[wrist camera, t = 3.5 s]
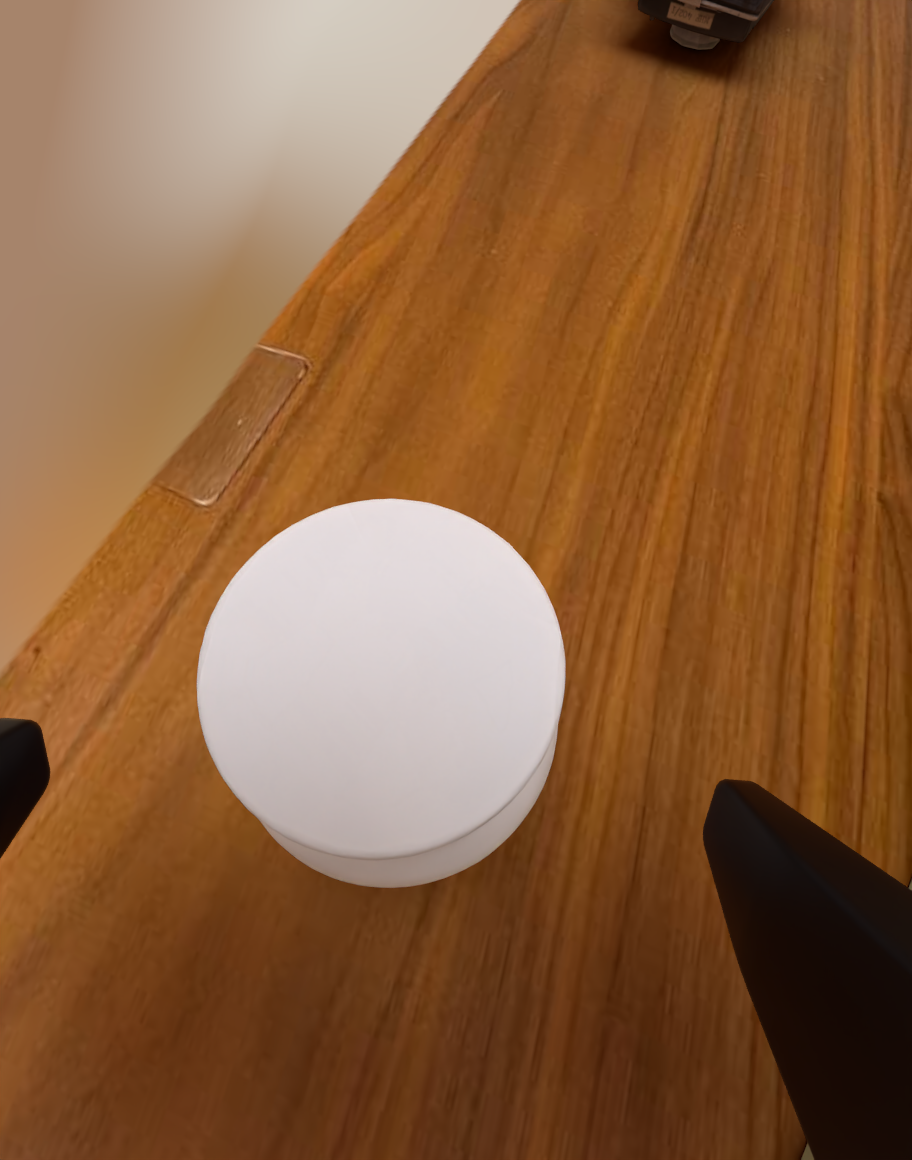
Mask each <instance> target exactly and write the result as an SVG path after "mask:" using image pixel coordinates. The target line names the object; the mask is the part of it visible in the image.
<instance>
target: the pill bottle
mask: <svg viewBox="0 0 912 1160" xmlns="http://www.w3.org/2000/svg"><path fill="white" fill-rule="evenodd" d="M564 691H565V654H564V647H563V640H562V636H561V632H560V628H559V624H558V620H557V617H556V614H555V611H554V608H553V606H552V604H551V602H550V600H549V597H548V595H547V593H546V591H545V589H544V587H543V586H542V584H541V582H540V581H539V579H538V578H537V576H536V575H535V573H534V572H533V570H532V569H531V568H530V566H529V565H528V564H527V563H526V562H525V561H524V559H523V558H522V557H521V556H520V555H519V554H518V553H517V552H516V551H515V549H514V548H513V547H512V546H511V545H510V544H509V543H508V542H506V541H505V540H504V539H502V538H501V537H500V536H498V535H497V534H496V533H494V532H493V531H492V530H490V529H489V528H487V527H486V526H484V525H482V524H480V523H479V522H477V521H475V520H474V519H472V518H469V517H467V516H465V515H463V514H461V513H459V512H457V511H453V510H450V509H447V508H444V507H441V506H437V505H434V504H431V503H425V502H418V501H412V500H401V499H374V500H366V501H359V502H354V503H348V504H344V505H339V506H336V507H332V508H329V509H326V510H324V511H321V512H318V513H316V514H313V515H311V516H309V517H307V518H305V519H303V520H301V521H299V522H297V523H296V524H294V525H292V526H290V527H289V528H287V529H285V530H284V531H282V532H281V533H279V534H278V535H276V536H275V537H273V538H272V539H271V540H270V541H269V542H268V543H266V544H265V545H264V546H263V547H261V548H260V549H259V550H258V551H257V552H256V553H255V554H254V555H253V556H252V557H251V558H250V559H249V560H248V561H247V562H246V563H245V564H244V565H243V567H242V568H241V569H240V570H239V571H238V572H237V574H236V575H235V576H234V577H233V579H232V580H231V582H230V583H229V585H228V586H227V588H226V589H225V591H224V593H223V594H222V596H221V597H220V599H219V601H218V603H217V605H216V607H215V609H214V611H213V613H212V615H211V618H210V620H209V623H208V625H207V628H206V630H205V634H204V639H203V644H202V647H201V650H200V656H199V664H198V672H197V702H198V710H199V716H200V723H201V727H202V731H203V734H204V738H205V741H206V745H207V747H208V750H209V752H210V754H211V757H212V759H213V761H214V763H215V765H216V767H217V769H218V771H219V773H220V774H221V776H222V778H223V779H224V781H225V782H226V783H227V785H228V786H229V788H230V789H231V790H232V792H233V793H234V794H235V796H236V797H237V798H238V799H239V800H240V801H241V803H242V804H243V805H244V806H245V807H246V808H247V809H248V810H249V811H250V812H251V813H252V814H253V815H255V816H256V817H257V818H258V819H259V820H260V822H261V823H262V824H263V826H264V827H265V828H266V830H267V831H268V832H269V833H270V835H271V836H272V837H273V838H274V839H275V840H276V841H277V842H278V843H279V844H280V845H281V846H282V847H283V848H284V849H286V850H287V851H288V852H289V853H290V854H292V855H293V856H294V857H295V858H297V859H298V860H300V861H301V862H303V863H304V864H306V865H307V866H309V867H310V868H312V869H314V870H316V871H318V872H320V873H322V874H325V875H327V876H329V877H332V878H334V879H337V880H340V881H344V882H347V883H351V884H356V885H361V886H369V887H379V888H398V887H410V886H416V885H421V884H426V883H430V882H433V881H437V880H440V879H444V878H446V877H448V876H451V875H453V874H456V873H458V872H461V871H463V870H465V869H467V868H468V867H470V866H472V865H474V864H476V863H478V862H479V861H481V860H482V859H483V858H485V857H487V856H488V855H489V854H491V853H492V852H493V851H494V850H495V849H496V848H498V847H499V846H500V845H501V844H502V843H503V842H504V841H505V840H506V839H507V838H508V837H509V836H510V835H511V834H512V833H513V832H514V831H515V830H516V829H517V827H518V826H519V825H520V824H521V823H522V821H523V820H524V819H525V817H526V816H527V814H528V813H529V811H530V810H531V808H532V807H533V805H534V804H535V802H536V800H537V798H538V796H539V794H540V792H541V791H542V789H543V786H544V784H545V781H546V779H547V776H548V773H549V771H550V768H551V765H552V761H553V756H554V752H555V746H556V740H557V730H558V722H559V718H560V713H561V709H562V703H563V697H564Z"/></svg>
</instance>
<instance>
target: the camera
mask: <svg viewBox="0 0 912 1160" xmlns="http://www.w3.org/2000/svg"><path fill="white" fill-rule="evenodd" d="M773 1H774V0H639V1H638V10H640V11H642V12H644V13H646V14H648V15H650V20H654V18H656V19H658V20H661V21H664V22H667V23H669V24H672V27H671V29H670V34H671V38H672V39H673V40H675V41H676V42H678V43H679V44H680V45H682V46H685V47H689V48H693V49H697V50H701V49H712V48H713V47H714V46H715V45H716V44H717V43H718V42H719V41H720V39H724V40H729V41H733V42H737V43H740V42H743V41H744V40H745V38H746V37H747V36H748V35H749V33H750V31H751V29H753V28H754V27H755V25H756V24H757V23H758V21H759V20H760V19H761V17H762V16H763V15H764V13H765V12H766V11H767V9H768V8H769V7H770V5H771V4H772V3H773Z"/></svg>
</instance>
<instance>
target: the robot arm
mask: <svg viewBox="0 0 912 1160" xmlns="http://www.w3.org/2000/svg"><path fill="white" fill-rule="evenodd" d="M49 779H50V767H49V762H48V757H47V753H46V748H45V743H44V739H43V734H42V730H41V727H40V726H39V725H38V724H37V723H36V722H34V721H32V720H25V719H13V718H1V719H0V858H1V857H2V855H3V854H4V852H5V851H6V849H7V848H8V846H9V845H10V843H11V842H12V840H13V839H14V837H15V836H16V834H17V833H18V831H19V830H20V828H21V827H22V825H23V823H24V822H25V820H26V819H27V817H28V816H29V814H30V813H31V811H32V810H33V808H34V807H35V805H36V804H37V802H38V801H39V799H40V798H41V796H42V795H43V793H44V791H45V790H46V788H47V785H48V783H49ZM703 841H704V847H705V850H706V854H707V857H708V861H709V864H710V868H711V871H712V875H713V878H714V882H715V885H716V889H717V892H718V896H719V899H720V903H721V906H722V910H723V913H724V917H725V920H726V924H727V927H728V931H729V934H730V938H731V941H732V944H733V948H734V951H735V954H736V957H737V961H738V964H739V967H740V970H741V973H742V975H743V978H744V981H745V983H746V986H747V989H748V992H749V994H750V997H751V999H752V1002H753V1004H754V1007H755V1009H756V1012H757V1015H758V1017H759V1020H760V1022H761V1025H762V1027H763V1030H764V1032H765V1035H766V1038H767V1040H768V1043H769V1045H770V1048H771V1050H772V1053H773V1055H774V1058H775V1061H776V1063H777V1066H778V1068H779V1071H780V1073H781V1076H782V1078H783V1081H784V1084H785V1086H786V1089H787V1091H788V1094H789V1096H790V1099H791V1101H792V1104H793V1107H794V1109H795V1112H796V1114H797V1117H798V1119H799V1122H800V1124H801V1127H802V1130H803V1132H804V1135H805V1137H806V1140H807V1142H808V1145H809V1147H810V1150H811V1153H812V1155H813V1158H814V1160H912V890H910V889H909V888H907V887H906V886H905V885H903V884H902V883H900V882H899V881H897V880H896V879H894V878H893V877H891V876H890V875H889V874H887V873H886V872H884V871H883V870H881V869H880V868H878V867H877V866H875V865H874V864H873V863H871V862H870V861H868V860H867V859H865V858H864V857H862V856H861V855H859V854H858V853H857V852H855V851H854V850H852V849H851V848H849V847H848V846H846V845H845V844H843V843H842V842H841V841H839V840H838V839H836V838H835V837H833V836H832V835H830V834H829V833H827V832H826V831H825V830H823V829H822V828H820V827H819V826H817V825H816V824H814V823H813V822H811V821H810V820H809V819H807V818H806V817H804V816H803V815H801V814H800V813H798V812H797V811H795V810H794V809H793V808H791V807H790V806H788V805H787V804H785V803H784V802H782V801H781V800H779V799H778V798H777V797H775V796H774V795H772V794H771V793H769V792H768V791H766V790H765V789H764V788H762V787H761V786H759V785H758V784H756V783H754V782H751V781H742V780H730V779H724V780H722V781H720V782H719V783H718V784H717V786H716V788H715V791H714V794H713V798H712V801H711V804H710V807H709V811H708V814H707V817H706V820H705V824H704V828H703Z"/></svg>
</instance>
